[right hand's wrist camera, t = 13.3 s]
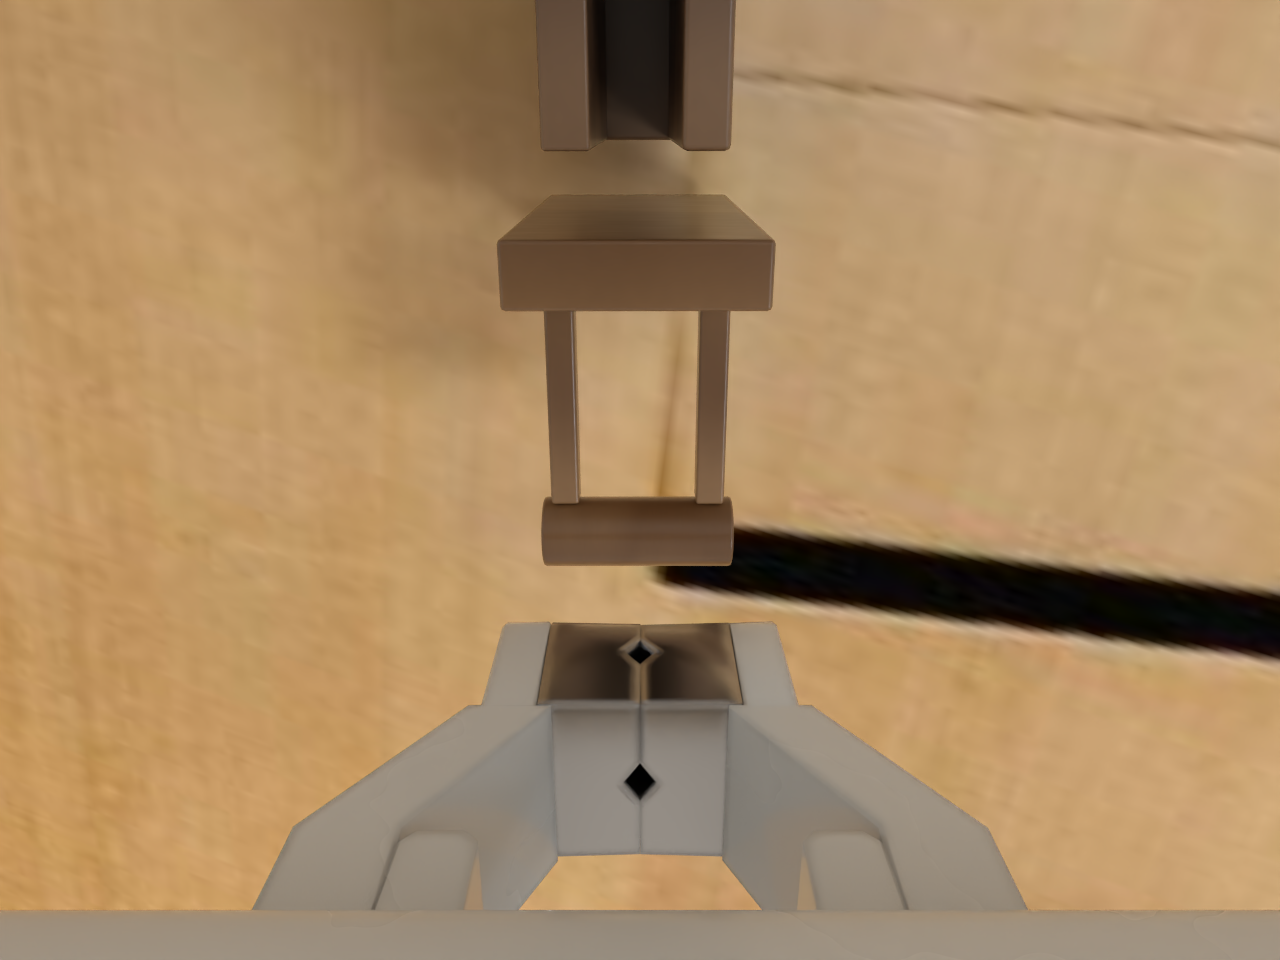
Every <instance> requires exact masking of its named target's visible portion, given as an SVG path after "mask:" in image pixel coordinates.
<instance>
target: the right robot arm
mask: <svg viewBox="0 0 1280 960" xmlns="http://www.w3.org/2000/svg"><path fill="white" fill-rule="evenodd" d="M621 854H656V855H693V856H723V857H722V860H723V861H724V863H725V864H726V865H727V866H728V868H729V869H730V870H731V871H732V873H733V874H734V875H735V877H736V878H737V879H738V880H739V882H740V883H741V884H742V885H743V887H744V888H745V889H746V890H747V892H748V893H749V894H750V895H751V897H752V898H753V899H754V900H755V902H756V903H757V904H758V905H759V907H760V908H761V909H762V910H519V909H520V907H521V906H522V905H523V904H524V902H525V901H526V900H527V899H528V897H529V896H530V895H531V894H532V892H533V891H534V890H535V889H536V887H537V886H538V885H539V884H540V882H541V881H542V880H543V879H544V877H545V876H546V875H547V874H548V872H549V871H550V870H551V869H552V867H553V866H554V865H555V864H556V862H557V861H558V856H586V855H621ZM0 960H1280V910H1028V909H1027V907H1026V905H1025V903H1024V901H1023V899H1022V896H1021V894H1020V892H1019V890H1018V888H1017V886H1016V884H1015V882H1014V880H1013V878H1012V876H1011V874H1010V872H1009V870H1008V868H1007V866H1006V864H1005V862H1004V860H1003V858H1002V856H1001V854H1000V852H999V850H998V848H997V846H996V843H995V841H994V839H993V837H992V835H991V833H990V831H989V829H988V828H987V827H986V826H984V825H983V824H981V823H980V822H979V821H977V820H976V819H974V818H973V817H971V816H970V815H969V814H967V813H966V812H964V811H963V810H961V809H960V808H958V807H957V806H956V805H954V804H953V803H951V802H950V801H948V800H947V799H946V798H944V797H943V796H941V795H940V794H938V793H937V792H935V791H934V790H933V789H931V788H930V787H928V786H927V785H925V784H924V783H923V782H921V781H920V780H918V779H917V778H915V777H914V776H912V775H911V774H910V773H908V772H907V771H905V770H904V769H902V768H901V767H900V766H898V765H897V764H895V763H894V762H892V761H891V760H889V759H888V758H887V757H885V756H884V755H882V754H881V753H879V752H878V751H876V750H875V749H874V748H872V747H871V746H869V745H868V744H866V743H865V742H864V741H862V740H861V739H859V738H858V737H856V736H855V735H853V734H852V733H851V732H849V731H848V730H846V729H845V728H843V727H842V726H841V725H839V724H838V723H836V722H835V721H833V720H832V719H830V718H829V717H828V716H826V715H825V714H823V713H822V712H820V711H819V710H818V709H816V708H815V707H813V706H812V705H798V701H797V697H796V694H795V690H794V687H793V683H792V679H791V676H790V672H789V669H788V665H787V661H786V658H785V654H784V651H783V647H782V643H781V640H780V636H779V633H778V629H777V625H776V624H774V623H773V622H748V623H704V624H662V625H640V624H600V623H552V625H551V624H550V622H513V623H507V624H506V625H505V626H504V627H503V628H502V632H501V635H500V639H499V643H498V646H497V650H496V653H495V657H494V661H493V664H492V668H491V672H490V675H489V679H488V683H487V686H486V690H485V694H484V697H483V701H482V705H468V706H467V707H465V708H464V709H463V710H461V711H460V712H458V713H457V714H455V715H454V716H452V717H451V718H450V719H448V720H447V721H445V722H444V723H442V724H441V725H439V726H438V727H437V728H435V729H434V730H432V731H431V732H429V733H428V734H426V735H425V736H424V737H422V738H421V739H419V740H418V741H416V742H415V743H413V744H412V745H411V746H409V747H408V748H406V749H405V750H403V751H402V752H400V753H399V754H397V755H396V756H395V757H393V758H392V759H390V760H389V761H387V762H386V763H384V764H383V765H382V766H380V767H379V768H377V769H376V770H374V771H373V772H371V773H370V774H369V775H367V776H366V777H364V778H363V779H361V780H360V781H358V782H357V783H356V784H354V785H353V786H351V787H350V788H348V789H347V790H345V791H344V792H343V793H341V794H340V795H338V796H337V797H335V798H334V799H332V800H331V801H330V802H328V803H327V804H325V805H324V806H322V807H321V808H319V809H318V810H317V811H315V812H314V813H312V814H311V815H309V816H308V817H306V818H305V819H304V820H302V821H301V822H299V823H298V824H296V825H295V826H293V828H292V830H291V832H290V834H289V836H288V838H287V840H286V842H285V844H284V846H283V848H282V850H281V852H280V854H279V856H278V858H277V860H276V862H275V864H274V866H273V868H272V870H271V873H270V875H269V877H268V879H267V881H266V883H265V885H264V887H263V889H262V891H261V893H260V895H259V897H258V899H257V901H256V903H255V905H254V907H253V909H252V910H0Z"/></svg>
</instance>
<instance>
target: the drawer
mask: <svg viewBox="0 0 1280 960" xmlns="http://www.w3.org/2000/svg"><path fill="white" fill-rule="evenodd" d="M535 6H536V32H537V57H538V83H539V108H540V133H541V148H542V150H543V151H588V150H590V149H591V148H593V147H595V146H596V145H598V144H600V143H601V142H603V141H604V140H672V141H673V142H675V143H676V144H677V145H679V146H680V147H681V148H683V149H685V150H687V151H725V150H728V149H729V148H730V145H731V125H732V96H733V66H734V36H735V6H736V0H535ZM775 246H776V244H775V241H774V240H773V239H772V238H771V237H770V236H769V235H768V234H767V233H766V232H765V231H763V230H762V229H761V228H760V227H759V226H758V225H757V224H756V223H755V222H754V221H753V220H751V219H750V218H749V217H748V216H747V215H746V214H745V213H744V212H743V211H742V210H741V209H739V208H738V207H737V206H736V205H735V204H734V203H733V202H732V201H731V200H730V199H729V198H727V197H726V196H725V195H552V196H550V197H549V198H548V199H546V200H545V201H544V202H543V203H542V204H541V205H539V206H538V207H537V208H536V209H535V210H534V211H532V212H531V213H530V214H529V215H528V216H527V217H525V218H524V219H523V220H522V221H521V222H520V223H518V224H517V225H516V226H515V227H514V228H513V229H511V230H510V231H509V232H508V233H507V234H506V235H504V236H503V237H502V238H501V239H500V240H499V241H498V243H497V255H498V272H499V289H500V306H501V309H502V310H504V311H544V326H545V350H546V375H547V399H548V424H549V448H550V472H551V497H546V498H545V500H544V503H543V510H542V528H541V537H542V555H543V561H544V564H545V565H547V566H728V565H730V564H731V562H732V557H733V543H734V523H733V508H732V502H731V499H730V497H724V473H725V445H726V417H727V389H728V361H729V333H730V311H768V310H771V308H772V303H773V284H774V265H775ZM576 311H699V313H698V357H697V401H696V445H695V489H694V493H695V497H580V494H581V482H580V446H579V410H578V374H577V338H576Z"/></svg>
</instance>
